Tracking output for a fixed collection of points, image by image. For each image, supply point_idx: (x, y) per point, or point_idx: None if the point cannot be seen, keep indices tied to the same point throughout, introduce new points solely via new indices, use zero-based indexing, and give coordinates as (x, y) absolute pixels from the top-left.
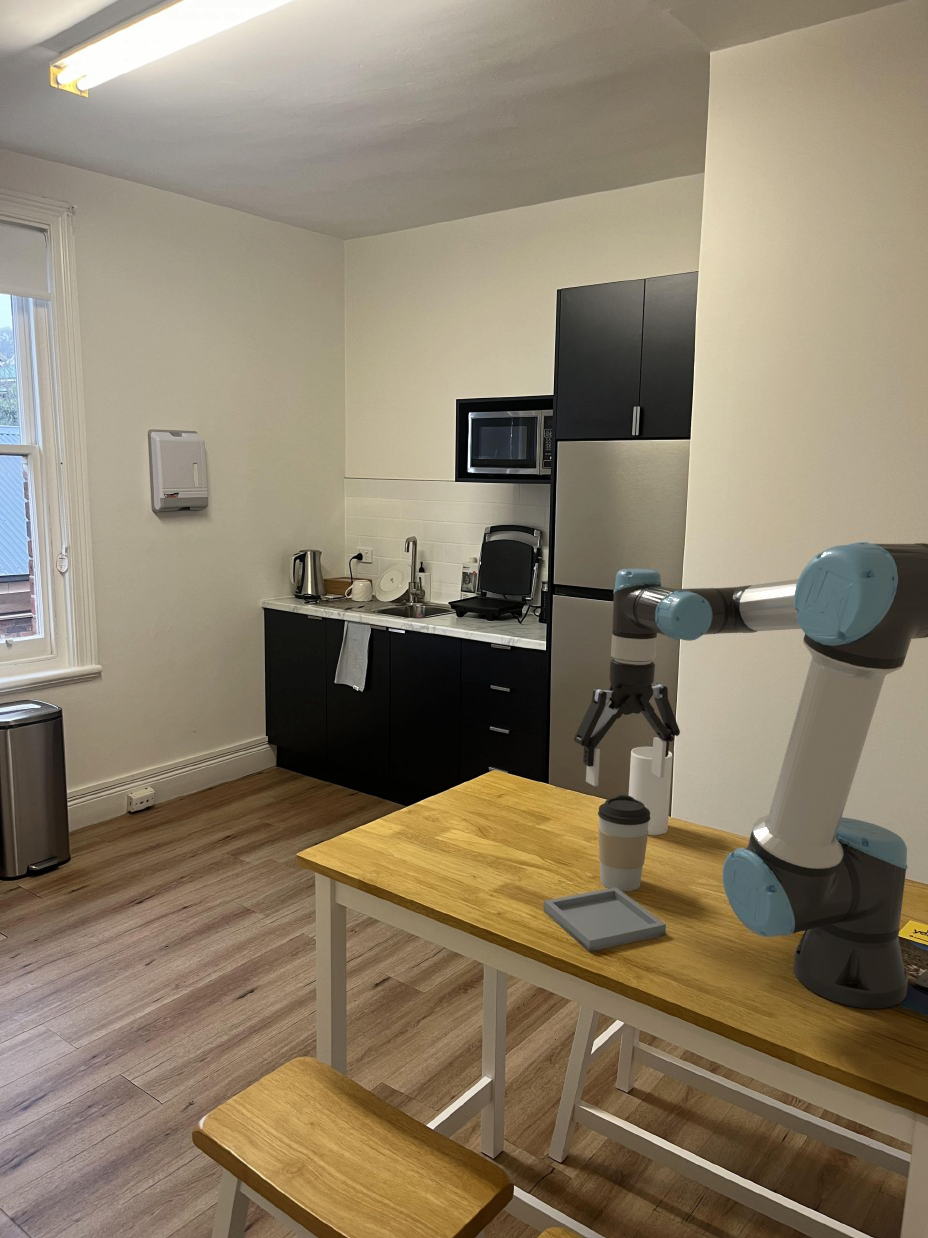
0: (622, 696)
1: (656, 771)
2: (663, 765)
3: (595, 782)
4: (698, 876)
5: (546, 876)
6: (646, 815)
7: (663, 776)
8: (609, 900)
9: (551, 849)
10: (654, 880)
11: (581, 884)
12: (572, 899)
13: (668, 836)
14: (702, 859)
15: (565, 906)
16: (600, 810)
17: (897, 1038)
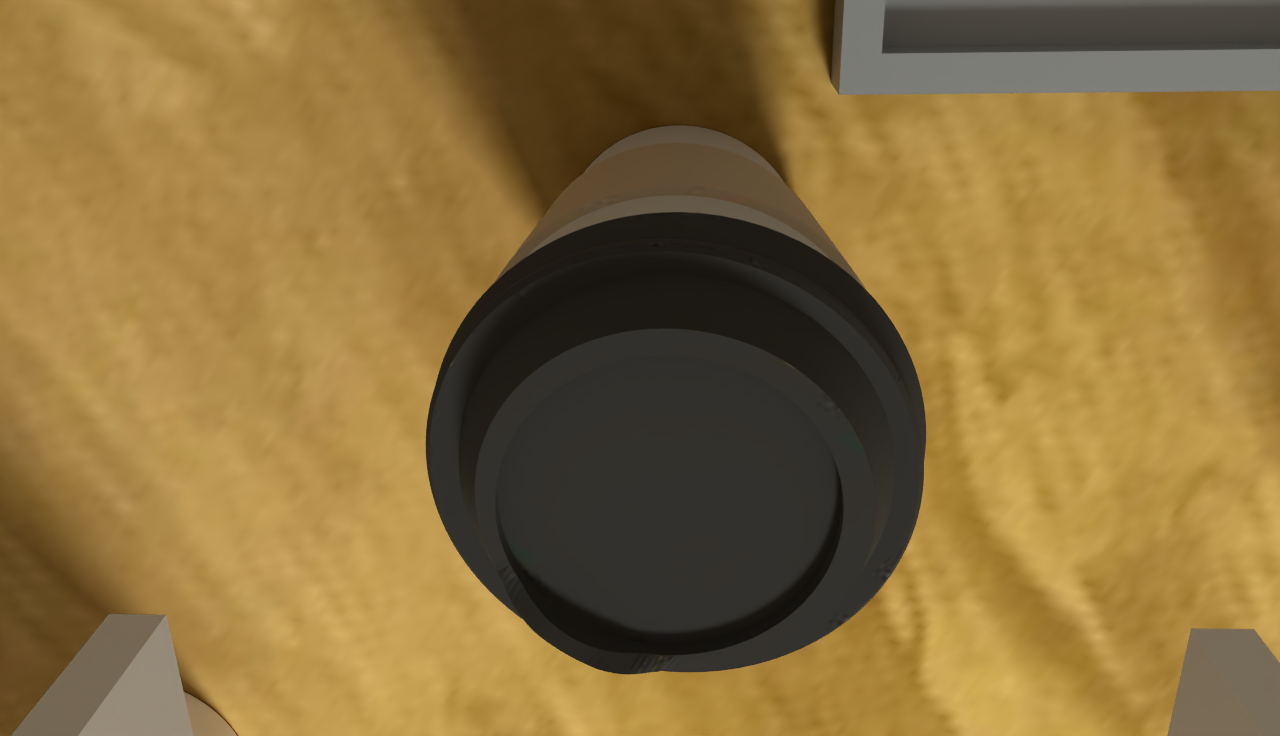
0: None
1: (158, 729)
2: (34, 733)
3: (1266, 663)
4: (153, 150)
5: (1037, 461)
6: (545, 283)
7: (109, 621)
8: (930, 17)
9: (800, 716)
10: (457, 199)
11: (914, 307)
12: (1215, 49)
13: (73, 644)
14: (13, 339)
15: (1250, 41)
16: (908, 539)
17: None
